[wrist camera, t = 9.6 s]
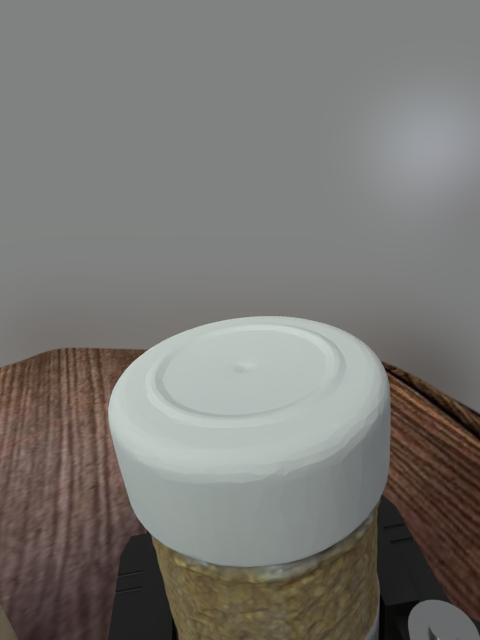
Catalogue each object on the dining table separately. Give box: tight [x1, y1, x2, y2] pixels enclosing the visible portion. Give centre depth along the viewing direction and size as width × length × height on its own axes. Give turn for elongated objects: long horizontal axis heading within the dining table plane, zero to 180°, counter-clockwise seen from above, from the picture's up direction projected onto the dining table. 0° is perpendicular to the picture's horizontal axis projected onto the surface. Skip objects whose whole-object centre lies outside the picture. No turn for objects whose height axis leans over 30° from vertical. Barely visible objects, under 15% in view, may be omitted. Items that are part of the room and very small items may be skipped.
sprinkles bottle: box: [108, 316, 390, 640], centre depth 10 cm, size 5×5×14 cm
